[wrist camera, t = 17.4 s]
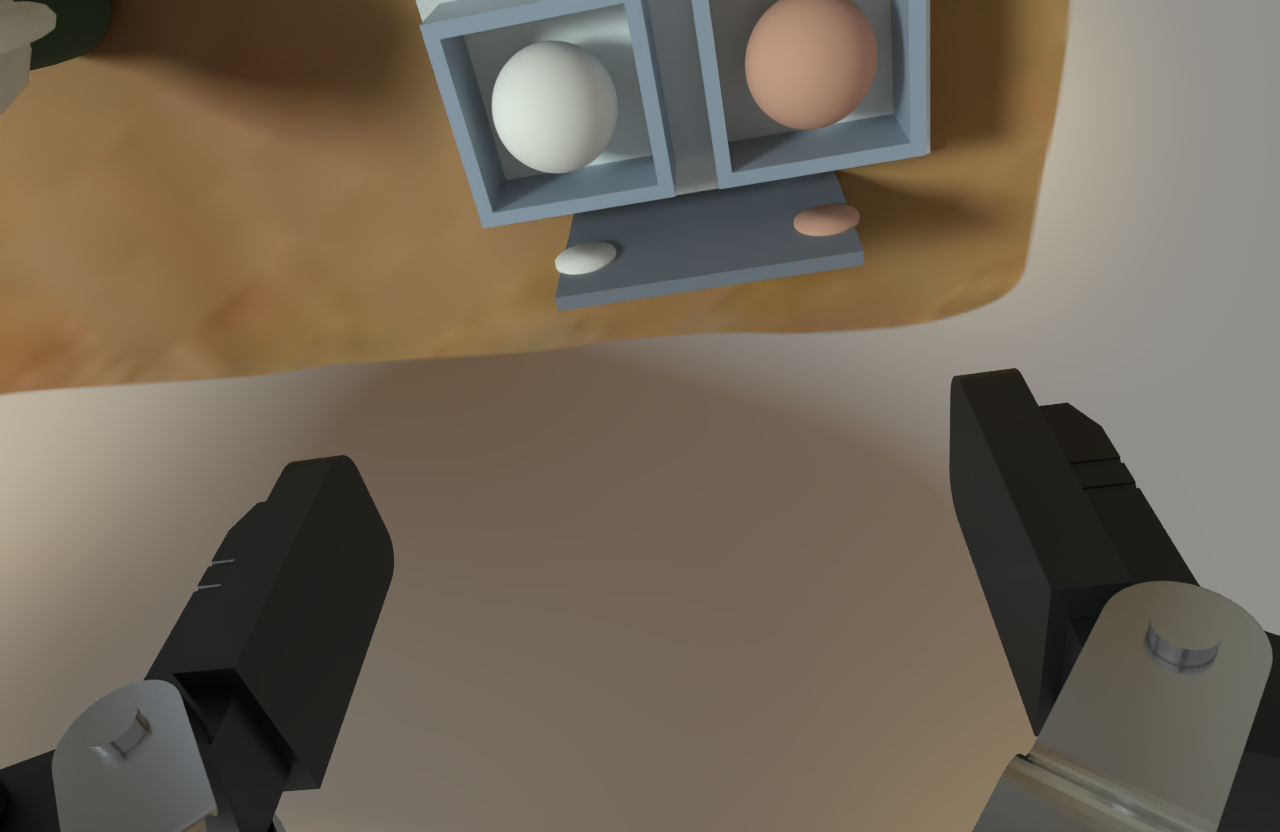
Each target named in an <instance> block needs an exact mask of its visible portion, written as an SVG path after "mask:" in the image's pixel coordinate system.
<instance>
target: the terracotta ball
mask: <svg viewBox="0 0 1280 832" xmlns="http://www.w3.org/2000/svg"><path fill="white" fill-rule="evenodd" d="M877 63H878V46H877V40H876V36H875V32H874V30H873V27H872V25H871V23H870V21H869V19H868V17H867V16H866V15H865V13H864V12H863V11H862V9H860V8H859V7H858V6H857V5H856V4H855V3H854V2H853V1H851V0H779V1H777V2H776V3H775V4H773V5H772V6H771V7H770V8H769V9H768V10H767V11H766V12H765V13H764V14H763V15H762V17H761V18H760V19H759V21H758V22H757V24H756V25H755V27H754V29H753V31H752V33H751V35H750V38H749V41H748V44H747V48H746V54H745V74H746V80H747V84H748V87H749V90H750V92H751V94H752V96H753V98H754V100H755V101H756V103H757V104H758V106H759V107H760V108H761V109H762V110H763V112H764V113H766V114H767V115H768V116H769V117H770V118H772V119H773V120H775V121H776V122H778V123H780V124H782V125H784V126H787V127H791V128H795V129H802V130H812V129H819V128H824V127H827V126H830V125H832V124H835V123H837V122H839V121H841V120H842V119H844V118H845V117H847V116H848V115H849V114H850V113H852V112H853V111H854V110H855V109H856V108H857V107H858V106H859V104H860V103H861V102H862V101H863V99H864V98H865V97H866V95H867V93H868V91H869V90H870V88H871V85H872V83H873V81H874V77H875V74H876V69H877Z"/></svg>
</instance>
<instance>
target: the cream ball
mask: <svg viewBox="0 0 1280 832" xmlns="http://www.w3.org/2000/svg"><path fill="white" fill-rule="evenodd" d="M492 115H493V120H494V124H495V127H496V130H497V133H498V135H499V137H500V139H501V141H502V142H503V144H504V145H505V147H506V148H507V149H508V150H509V152H510V153H511V154H512V155H513V156H514V157H515V158H517V159H518V160H519V161H521V162H522V163H523V164H525V165H527V166H529V167H531V168H533V169H536V170H539V171H542V172H547V173H567V172H572V171H575V170H578V169H580V168H583V167H585V166H586V165H588V164H590V163H591V162H593V161H594V160H595V159H596V158H597V157H598V156H599V155H600V154H601V153H602V152H603V151H604V150H605V148H606V147H607V145H608V144H609V142H610V140H611V138H612V136H613V133H614V131H615V128H616V124H617V118H618V100H617V94H616V90H615V87H614V84H613V82H612V79H611V77H610V75H609V73H608V72H607V70H606V69H605V67H604V66H603V65H602V63H601V62H600V61H599V60H598V59H597V58H596V57H595V56H593V55H592V54H591V53H590V52H588V51H586V50H585V49H583V48H581V47H579V46H577V45H575V44H572V43H568V42H563V41H551V40H550V41H542V42H538V43H535V44H532V45H530V46H527V47H525V48H523V49H522V50H520V51H518V52H517V53H516V54H515V55H514V56H512V58H511V59H510V60H509V61H508V62H507V63H506V64H505V65H504V67H503V68H502V70H501V71H500V74H499V76H498V78H497V80H496V83H495V86H494V89H493V95H492Z"/></svg>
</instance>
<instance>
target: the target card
mask: <svg viewBox="0 0 1280 832" xmlns="http://www.w3.org/2000/svg"><path fill="white" fill-rule="evenodd" d="M858 223H859V212H858V211H857V210H856V209H855V208H853V207H851V206H848V205H847V203H846V201H845V198H844V195H843V192H842V189H841V187H840V184H839V181H838V178H837V176H836V173H835V170H834V171H828V172H822V173H816V174H810V175H804V176H797V177H791V178H785V179H779V180H773V181H767V182H761V183H755V184H749V185H743V186H737V187H731V188H725V189H718V190H712V191H706V192H700V193H694V194H688V195H682V196H676V197H671V198H664V199H658V200H652V201H646V202H640V203H634V204H628V205H622V206H616V207H610V208H604V209H598V210H592V211H586V212H580V213H574V216H573V220H572V225H571V229H570V234H569V238H568V243H567V247H566V250H565V251H563V252H562V253H561V254H559V255H558V257H557V258H556V260H555V265H556V269H557V270H558V271H559V272H560V273H561V274H560V278H559V283H558V287H557V292H556V296H555V299H556V303H557V307H558V310H559V311H562V310H569V309H575V308H582V307H589V306H595V305H602V304H609V303H615V302H622V301H628V300H635V299H642V298H648V297H655V296H662V295H668V294H675V293H682V292H688V291H695V290H702V289H708V288H715V287H722V286H728V285H735V284H742V283H748V282H755V281H762V280H768V279H775V278H782V277H788V276H795V275H801V274H808V273H815V272H821V271H828V270H835V269H841V268H848V267H855V266H861V265H864V251H863V248H862V245H861V242H860V240H859V237H858V234H857V231H856V229H855V227H856V226H857V225H858Z"/></svg>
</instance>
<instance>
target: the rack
mask: <svg viewBox="0 0 1280 832" xmlns="http://www.w3.org/2000/svg"><path fill="white" fill-rule="evenodd" d="M777 1H779V0H416V3H417V6H418V9H419V12H420V16H421V19H422V23H421V24H420V25H419V27H420V30H421V33H422V36H423V39H424V42H425V46H426V49H427V52H428V55H429V58H430V61H431V65H432V68H433V71H434V74H435V77H436V80H437V84H438V87H439V90H440V93H441V96H442V99H443V103H444V106H445V109H446V112H447V115H448V118H449V122H450V125H451V128H452V131H453V134H454V137H455V141H456V144H457V147H458V150H459V153H460V156H461V160H462V163H463V166H464V169H465V172H466V175H467V179H468V182H469V185H470V188H471V191H472V194H473V198H474V201H475V204H476V207H477V210H478V214H479V217H480V220H481V223H482V226H483V228H489V227H495V226H501V225H507V224H513V223H519V222H525V221H531V220H538V219H544V218H550V217H556V216H562V215H568V214H574V213H580V212H586V211H592V210H598V209H604V208H610V207H616V206H622V205H628V204H634V203H640V202H646V201H652V200H658V199H664V198H671V197H675V195H680V194H686V193H692V192H698V191H704V190H710V189H716V188H719V189H725V188H731V187H737V186H743V185H749V184H755V183H761V182H767V181H773V180H779V179H785V178H791V177H797V176H804V175H810V174H816V173H822V172H828V171H834V170H840V169H846V168H852V167H858V166H864V165H870V164H876V163H882V162H888V161H894V160H900V159H906V158H912V157H918V156H924V155H926V154H927V153H930V0H851V1H853V2H854V3H855V4H856V5H857V6H858V7H859V8H860V9H862V11H863V12H864V13H865V15H866V16H867V17H868V19H869V21H870V23H871V25H872V27H873V30H874V32H875V36H876V40H877V46H878V63H877V69H876V74H875V77H874V81H873V83H872V85H871V88H870V90H869V91H868V93H867V95H866V97H865V98H864V99H863V101H862V102H861V103H860V104H859V106H858V107H857V108H856V109H855V110H854V111H853V112H852V113H850V114H849V115H848V116H847V117H845V118H844V119H842V120H841V121H839V122H837V123H835V124H832V125H830V126H827V127H824V128H819V129H812V130H802V129H795V128H791V127H787V126H784V125H782V124H780V123H778V122H776V121H775V120H773V119H772V118H770V117H769V116H768V115H767V114H766V113H764V112H763V110H762V109H761V108H760V107H759V106H758V104H757V103H756V101H755V100H754V98H753V96H752V94H751V92H750V90H749V87H748V84H747V80H746V74H745V54H746V48H747V44H748V41H749V38H750V35H751V33H752V31H753V29H754V27H755V25H756V24H757V22H758V21H759V19H760V18H761V17H762V15H763V14H764V13H765V12H766V11H767V10H768V9H769V8H770V7H771V6H772V5H773V4H775V3H776V2H777ZM550 40H551V41H563V42H568V43H572V44H575V45H577V46H579V47H581V48H583V49H585V50H586V51H588V52H590V53H591V54H592V55H593V56H595V57H596V58H597V59H598V60H599V61H600V62H601V63H602V65H603V66H604V67H605V69H606V70H607V72H608V73H609V75H610V77H611V79H612V82H613V84H614V87H615V90H616V94H617V100H618V118H617V124H616V128H615V131H614V133H613V136H612V138H611V140H610V142H609V144H608V145H607V147H606V148H605V150H604V151H603V152H602V153H601V154H600V155H599V156H598V157H597V158H596V159H595V160H594V161H593V162H591V163H590V164H588V165H586V166H585V167H583V168H580V169H578V170H575V171H572V172H567V173H547V172H542V171H539V170H536V169H533V168H531V167H529V166H527V165H525V164H523V163H522V162H521V161H519V160H518V159H517V158H515V157H514V156H513V155H512V154H511V153H510V152H509V150H508V149H507V148H506V147H505V145H504V144H503V142H502V141H501V139H500V137H499V135H498V133H497V130H496V127H495V124H494V120H493V115H492V95H493V89H494V86H495V83H496V80H497V78H498V76H499V74H500V71H501V70H502V68H503V67H504V65H505V64H506V63H507V62H508V61H509V60H510V59H511V58H512V56H514V55H515V54H516V53H517V52H518V51H520V50H522V49H523V48H525V47H527V46H530V45H532V44H535V43H538V42H542V41H550Z"/></svg>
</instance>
